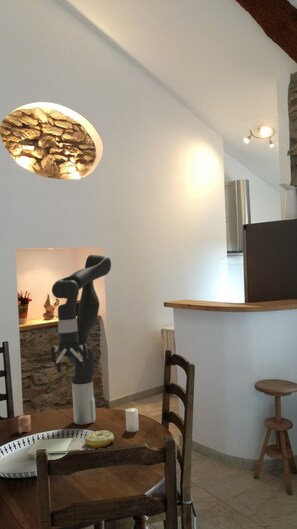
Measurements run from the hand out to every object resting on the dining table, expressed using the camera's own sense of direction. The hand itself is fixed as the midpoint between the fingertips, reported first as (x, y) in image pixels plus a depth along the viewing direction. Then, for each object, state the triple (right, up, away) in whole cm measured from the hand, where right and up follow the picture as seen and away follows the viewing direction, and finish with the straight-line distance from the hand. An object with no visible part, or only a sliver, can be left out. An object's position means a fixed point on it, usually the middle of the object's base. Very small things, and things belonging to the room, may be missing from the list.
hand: (70, 371), depth 164 cm
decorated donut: (+12, -26, -7) cm, 29 cm away
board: (-6, -26, -9) cm, 28 cm away
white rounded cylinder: (+24, -25, +5) cm, 35 cm away
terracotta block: (-22, -28, +11) cm, 37 cm away
